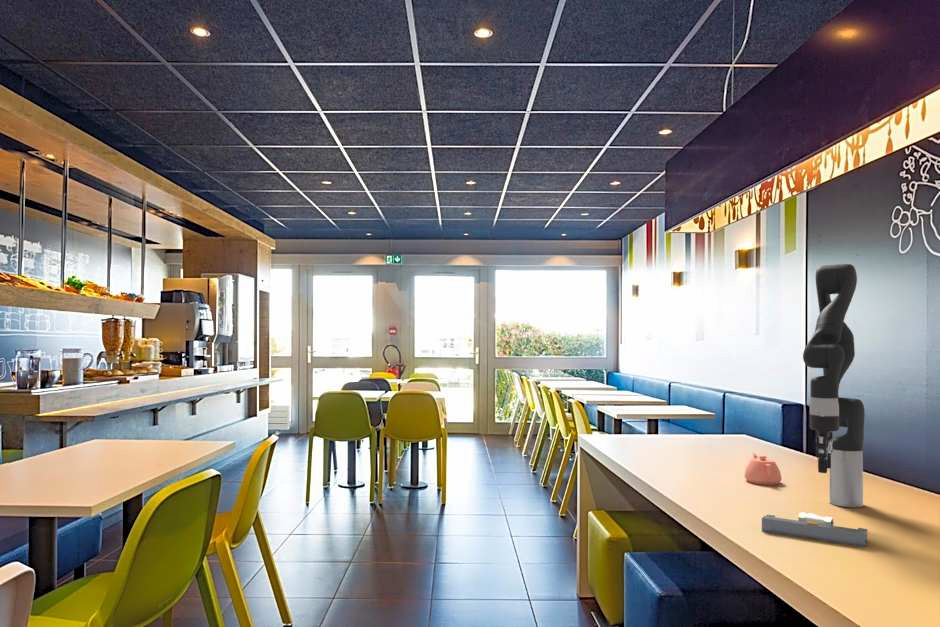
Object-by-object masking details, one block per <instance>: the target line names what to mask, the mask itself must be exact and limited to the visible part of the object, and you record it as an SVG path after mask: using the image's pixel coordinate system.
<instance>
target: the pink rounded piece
mask: <svg viewBox="0 0 940 627" xmlns="http://www.w3.org/2000/svg"><path fill="white" fill-rule="evenodd" d="M752 456H753V458H751V459H750V460H749V462H748V463H747V466H746V467H745V469H744V478H745V479H746V481H747V482H748V483H750V484H755V485H760V486H776V485H779V484H780V483H781V482H782V474H781V470H780V468H779V467H778V464H777V463H776V461H775V460H773V459H769V458H767V455H759V456H758V455H757V454H756V453H755V452H752ZM758 457H759V458H758Z"/></svg>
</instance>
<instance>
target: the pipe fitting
mask: <svg viewBox="0 0 940 627" xmlns="http://www.w3.org/2000/svg"><path fill="white" fill-rule="evenodd" d="M797 519H798V520H797V521H804V522H807V521H809V522H816V523H818V524H824V525H831V526H835V525H834V518H833V517H831V516H825V517H823V516H821V515H817V514H815V513H812V512H810V513H807V512H806V513H805V512H800V513H799V515H798V517H797Z"/></svg>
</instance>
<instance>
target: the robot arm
mask: <svg viewBox="0 0 940 627" xmlns="http://www.w3.org/2000/svg"><path fill="white" fill-rule="evenodd" d="M857 277H858V275H857V270H856V268H855V266H854V265H853V264H850V263H841V264H840V263H839V264H827V265H820V266H818V267H817V268H816V271H815V288H816V289H815V290H816V293H817V294H816V295H817V302H818V309H819V310H818V311H819V315H818V316H817V320H816V325H815V329H814V332H813V335H812V337H811V338H810V340H809V341H808V342H807V344H806V346H805V347H804V350H803V352H802V359H803V362H804V364H805V366H807V367H808V368H811V369H822V372H823V373H822V374H823V375H820V376H818V375H817V376H815V377H812V378H811V379H810V384H809V385H810V399H809V428H810V430H813V431H818V435H816V437H815V444H816V445H815V449H816V452H815V453H816V454H815V457H816V458H817V468H818V469H817V471H818V473H821V474H827V473H828V469H829V504H831V505H833V506H834V505H835V506H837V507H838V506H839V507H845V508H862V507H863V506H864V466H863V465H864V463H863V462H864V459H863V456H864V454H863V450H864V448H863V446H864V445H863V444H864V439H865V438H864V437H865V436H864V434H865V415H866V413H865V406H864V403H863V401H862V400H861V399H859V398H852V397H850V398H849V397H840V396H839V389H840V384H841V381H842V379H843V377H844V375H845V374H846V373H847V371H848V369H849V368H850V366H852V363H853V362H854V359H855V356H856V355H855V353H856V352H855V351H856V350H855V338H854V334H853V332H852V330H851V328H850V327H849V326H848V325H847V324H846V323H845V322H844V321H845V319H846V318H845V317H846V314H847V312H848V310H849V308H850V306H851V303H852V299H853V297H854V294H855V292H856V288H857V284H858V282H857V281H858V278H857ZM831 295H837V296H836V297H835V298H834V299H833V300H832V299H831ZM840 428H847V430H846V433H845V434H843V435H841V436H836V437H833V432H838V431H840Z"/></svg>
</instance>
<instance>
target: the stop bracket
mask: <svg viewBox="0 0 940 627" xmlns="http://www.w3.org/2000/svg"><path fill="white" fill-rule="evenodd" d="M761 532H763V533H764V532H765V533H770V534H776V535H778V534H779V535H785V536H790V537H796V538H802V539H808V540H815V541H821V542H828V543H834V544H840V545H847V546H852V547H860V548H866V547H867V544H868V529H867V528H862V527H858V528H850V527H845V526H836V525H834V526H831V525H824V524H818V523H816V522H809V521H807V522H804V521H798V520H797V519H789V518H782V517H776V515H772V514H766V515H763V516H762V517H761Z"/></svg>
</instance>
